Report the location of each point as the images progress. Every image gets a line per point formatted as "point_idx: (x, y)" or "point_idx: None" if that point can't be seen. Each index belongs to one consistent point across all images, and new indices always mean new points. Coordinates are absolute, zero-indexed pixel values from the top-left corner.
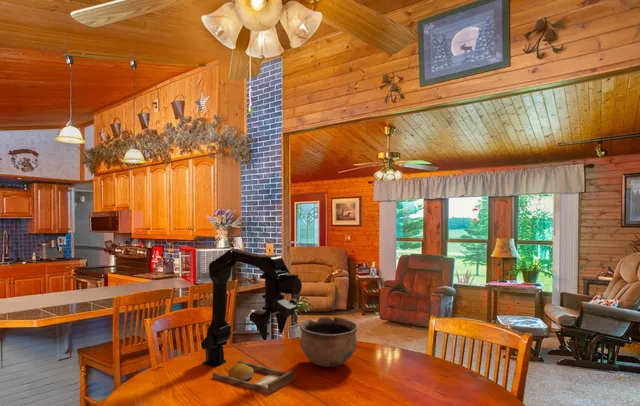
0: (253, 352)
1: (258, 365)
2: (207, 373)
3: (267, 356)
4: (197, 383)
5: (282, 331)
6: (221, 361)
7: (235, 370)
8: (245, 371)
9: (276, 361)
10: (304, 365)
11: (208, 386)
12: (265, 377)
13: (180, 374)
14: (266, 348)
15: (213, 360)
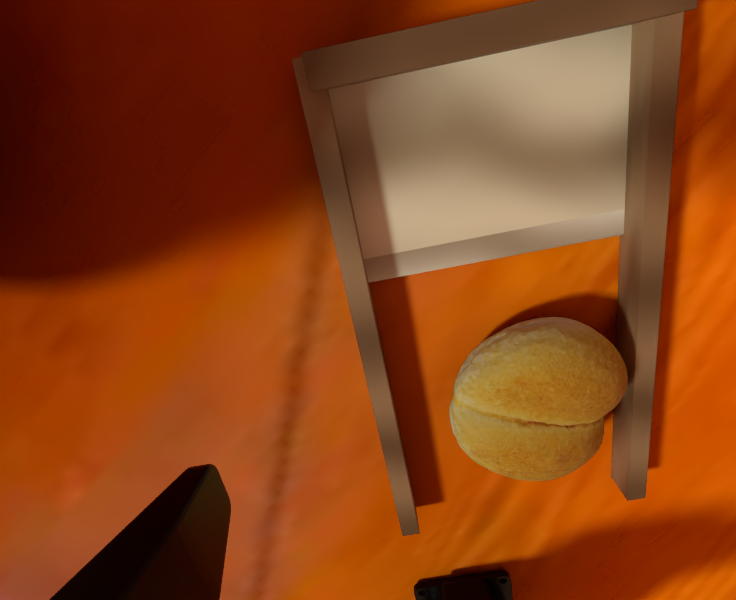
0: None
1: (375, 410)
2: (587, 534)
3: None
4: (716, 476)
5: (184, 487)
6: (463, 587)
7: (599, 418)
8: (587, 354)
9: (185, 417)
10: (50, 222)
11: (723, 413)
12: (438, 262)
13: (665, 595)
14: None
15: None
